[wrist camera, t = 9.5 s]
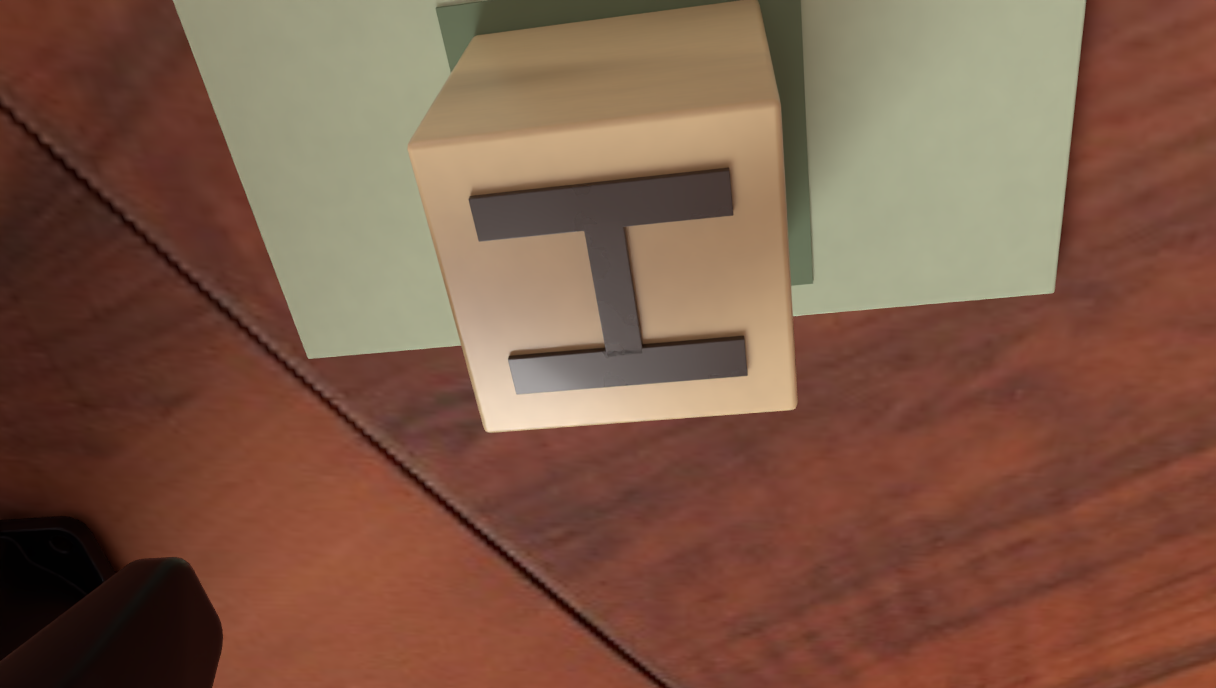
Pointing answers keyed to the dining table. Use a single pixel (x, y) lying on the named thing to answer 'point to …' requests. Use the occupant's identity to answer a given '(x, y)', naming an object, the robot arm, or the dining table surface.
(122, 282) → the dining table surface
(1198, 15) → the dining table surface
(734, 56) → the letter h block
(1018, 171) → the mat
